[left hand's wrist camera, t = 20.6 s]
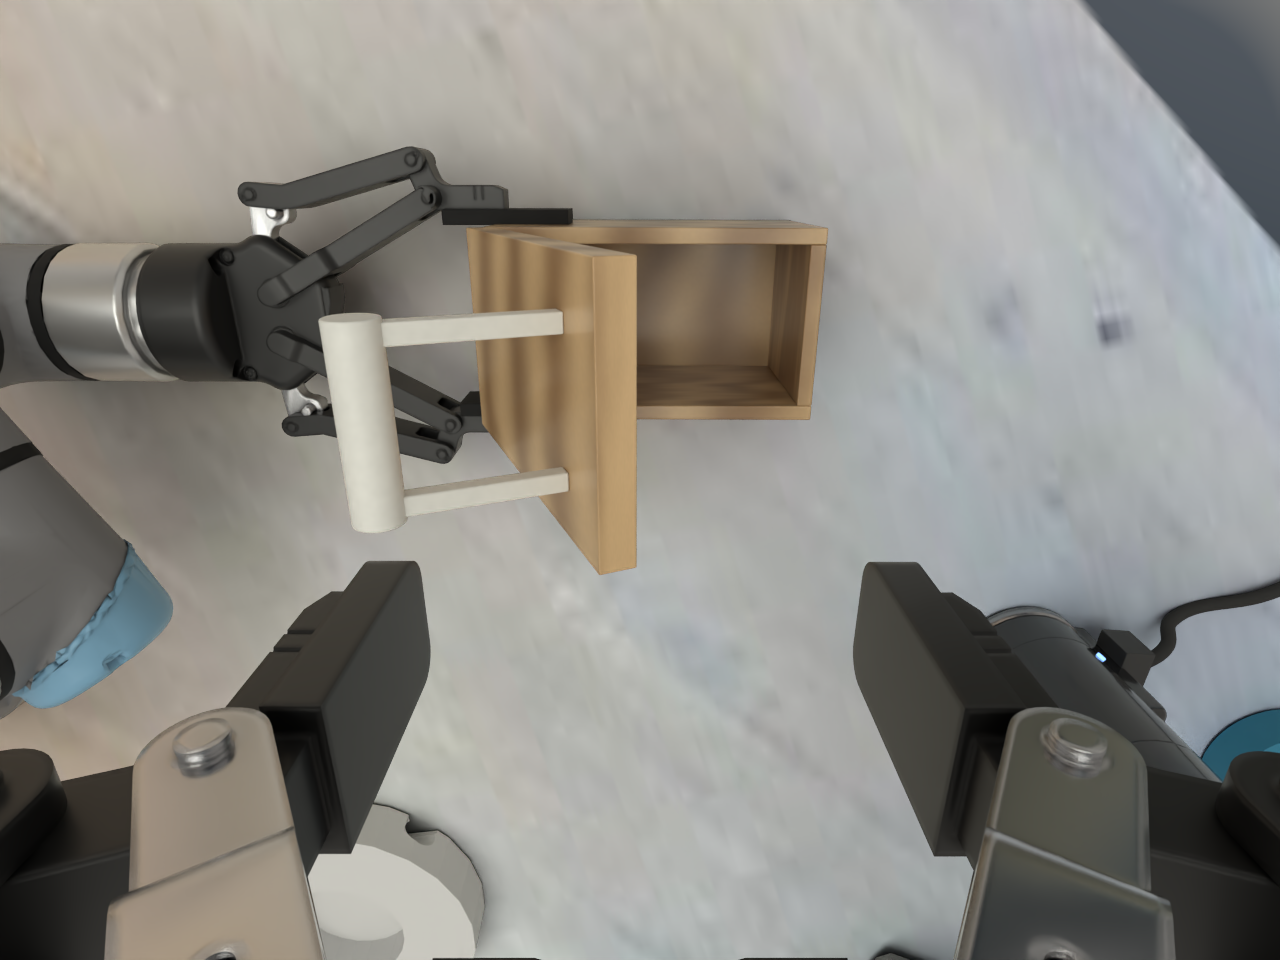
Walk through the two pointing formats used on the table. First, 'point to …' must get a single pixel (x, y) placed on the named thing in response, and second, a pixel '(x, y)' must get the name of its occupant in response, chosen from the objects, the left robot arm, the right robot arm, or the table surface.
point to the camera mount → (1244, 740)
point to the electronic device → (891, 957)
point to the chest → (717, 312)
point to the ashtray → (397, 895)
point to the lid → (511, 391)
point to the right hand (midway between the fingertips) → (573, 314)
